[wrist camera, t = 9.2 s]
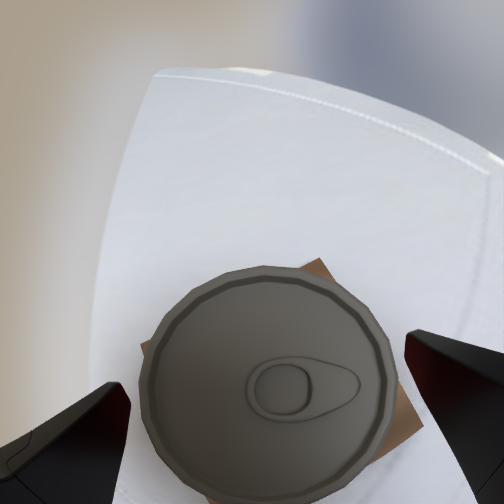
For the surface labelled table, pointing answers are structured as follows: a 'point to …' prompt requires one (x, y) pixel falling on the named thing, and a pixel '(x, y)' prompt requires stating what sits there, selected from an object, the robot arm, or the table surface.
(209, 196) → the table surface
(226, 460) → the beer can
